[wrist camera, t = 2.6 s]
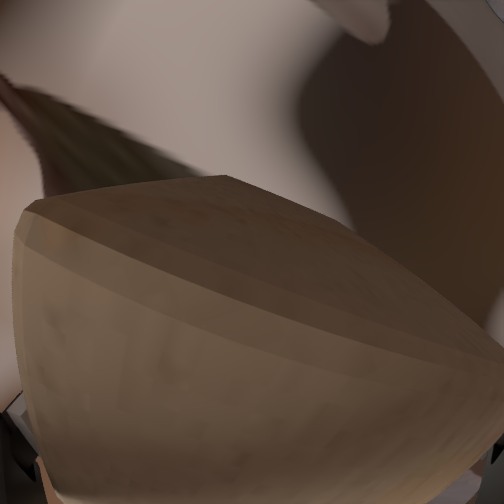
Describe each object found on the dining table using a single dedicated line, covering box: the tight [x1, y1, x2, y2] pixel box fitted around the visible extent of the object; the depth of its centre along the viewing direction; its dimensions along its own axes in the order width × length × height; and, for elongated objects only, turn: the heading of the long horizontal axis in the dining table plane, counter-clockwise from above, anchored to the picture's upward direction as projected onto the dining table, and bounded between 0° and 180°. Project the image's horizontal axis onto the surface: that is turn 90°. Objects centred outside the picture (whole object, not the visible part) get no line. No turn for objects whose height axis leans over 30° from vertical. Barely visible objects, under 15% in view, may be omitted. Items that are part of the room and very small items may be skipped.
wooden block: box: [12, 175, 504, 504], centre depth 14 cm, size 10×10×20 cm
